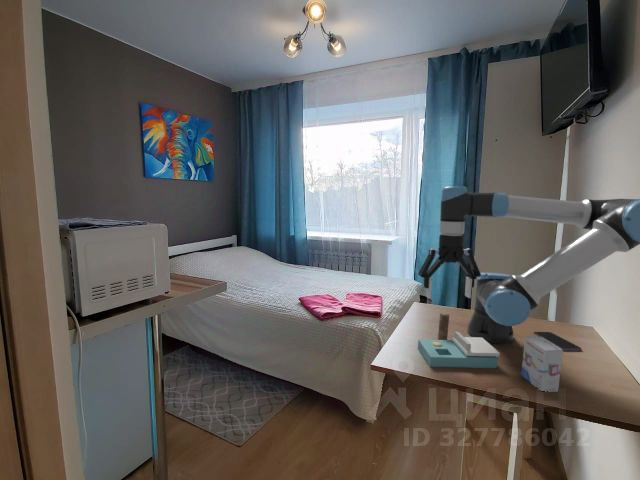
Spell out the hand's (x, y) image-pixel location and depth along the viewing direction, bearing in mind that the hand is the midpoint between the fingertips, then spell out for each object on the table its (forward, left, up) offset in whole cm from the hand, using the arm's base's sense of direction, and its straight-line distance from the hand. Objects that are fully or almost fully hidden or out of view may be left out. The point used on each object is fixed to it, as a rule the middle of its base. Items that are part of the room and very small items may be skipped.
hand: (448, 297), depth 114 cm
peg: (0, -1, -16) cm, 16 cm away
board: (0, +10, -16) cm, 19 cm away
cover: (-6, +10, -13) cm, 17 cm away
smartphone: (-42, -4, -17) cm, 45 cm away
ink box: (-17, +24, -17) cm, 34 cm away
